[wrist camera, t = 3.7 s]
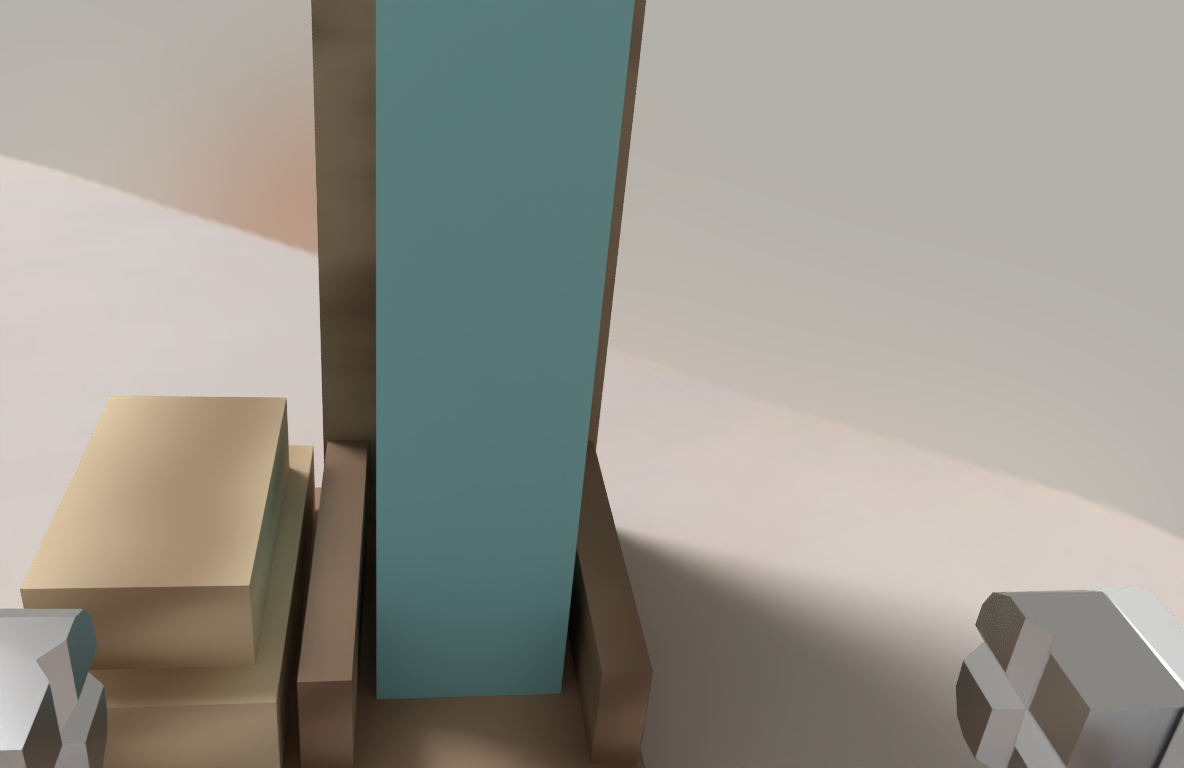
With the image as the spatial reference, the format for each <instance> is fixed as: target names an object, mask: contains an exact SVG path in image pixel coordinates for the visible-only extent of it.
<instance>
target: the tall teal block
mask: <svg viewBox="0 0 1184 768" xmlns="http://www.w3.org/2000/svg"><path fill="white" fill-rule="evenodd" d="M634 3H635V0H376V675H377V699H405V698H436V697H467V696H498V695H529V694H560V693H561V686H562V676H563V667H564V658H565V648H566V639H567V630H568V620H569V611H570V602H571V592H572V583H573V573H574V564H575V555H576V545H577V536H578V527H579V517H580V508H581V499H582V489H583V480H584V471H585V461H586V452H587V442H588V433H589V424H590V414H591V405H592V396H593V386H594V377H595V368H596V358H597V349H598V340H599V330H600V321H601V311H602V302H603V293H604V283H605V274H606V265H607V255H608V246H609V237H610V227H611V218H612V209H613V199H614V190H615V180H616V171H617V162H618V152H619V143H620V134H621V124H622V115H623V106H624V96H625V87H626V78H627V68H628V59H629V49H630V40H631V31H632V21H633V12H634Z"/></svg>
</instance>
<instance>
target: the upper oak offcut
mask: <svg viewBox="0 0 1184 768" xmlns="http://www.w3.org/2000/svg"><path fill="white" fill-rule="evenodd" d="M289 467H290V466H289V444H288V422H287V401H286V398H261V397H172V396H110V399H109V401H108V403H107V405H106V407H105V409H104V411H103V413H102V416H101V418H100V420H99V422H98V424H97V426H96V428H95V431H94V433H93V435H92V437H91V439H90V441H89V443H88V445H87V448H86V450H85V452H84V454H83V456H82V458H81V460H80V462H79V465H78V467H77V469H76V471H75V473H74V475H73V477H72V479H71V482H70V484H69V486H68V488H67V490H66V492H65V494H64V497H63V499H62V501H61V503H60V505H59V507H58V509H57V511H56V514H55V516H54V518H53V520H52V522H51V524H50V526H49V528H48V531H47V533H46V535H45V537H44V539H43V541H42V543H41V546H40V548H39V550H38V552H37V554H36V556H35V558H34V560H33V563H32V565H31V567H30V569H29V571H28V573H27V575H26V577H25V580H24V582H23V584H22V586H21V588H20V591H21V596H22V601H23V606H24V609H84V610H85V611H87V612H88V613H89V614H90V615H91V616H92V621H93V626H94V631H95V636H96V641H97V648H96V651H95V654H94V657H93V660H92V663H91V665H90V668H89V670H114V669H151V668H188V667H225V666H255V663H256V657H257V651H258V645H259V640H260V634H261V628H262V622H263V617H264V611H265V605H266V600H267V594H268V588H269V582H270V577H271V571H272V565H273V559H274V554H275V548H276V542H277V536H278V531H279V525H280V519H281V513H282V508H283V502H284V496H285V490H286V485H287V479H288V473H289Z"/></svg>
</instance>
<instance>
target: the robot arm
mask: <svg viewBox="0 0 1184 768" xmlns="http://www.w3.org/2000/svg"><path fill="white" fill-rule="evenodd" d="M975 625H976V627H977V629H978V631H979V633H980V635H981V637H982V638H983V640H984V643H983V644H981V645H980V646H979V647H978V648H977V649H976V650H975V651H974V652H972V653H971V654H970V655H969V656H968V657H967V658H966V659H964V660H963V664H962V667H961V671H960V675H959V678H958V682H957V685H956V699H957V716H958V720H959V723H960V726H961V730H962V733H963V736H964V738H965V740H966V742H967V744H968V746H969V748H970V750H971V752H972V754H973V755H974V757H975V759H977V760H978V761H979V762H981V763H982V764H984V765H985V766H986V767H988V768H1184V627H1183V626H1182V625H1181V624H1180V623H1179V622H1178V620H1177V619H1176V618H1175V617H1174V616H1173V615H1172V614H1171V613H1170V611H1169V610H1168V609H1167V608H1166V607H1165V606H1164V605H1163V603H1162V602H1161V601H1160V600H1159V599H1158V598H1157V597H1156V596H1155V595H1154V594H1152V593H1150V592H1149V591H1147V590H1145V589H1143V588H1141V587H1123V588H1098V589H1090V590H1088V591H1087V590H1068V591H1028V592H993V593H992V594H991V595H990V596H989V598H988V599H987V600H986V601H985V602H984V603H983V604H982V607H981V610H980V613H979V616H978V619H977V621H976V624H975ZM96 648H97V641H96V636H95V631H94V626H93V621H92V616H91V615H90V614H89V613H88V612H87V611H85V610H84V609H0V768H103V763H104V755H105V748H106V741H107V704H106V697H105V690H104V685H103V684H102V683H101V682H99V681H98V680H97V679H96V678H95V677H94V676H92V675H91V674H90V673H89V672H88V671H89V668H90V665H91V663H92V660H93V657H94V654H95V651H96Z"/></svg>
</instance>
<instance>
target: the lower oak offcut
mask: <svg viewBox="0 0 1184 768" xmlns="http://www.w3.org/2000/svg"><path fill="white" fill-rule="evenodd" d="M289 466H290V467H289V473H288V479H287V485H286V490H285V496H284V502H283V508H282V513H281V519H280V525H279V531H278V536H277V542H276V548H275V554H274V559H273V565H272V571H271V577H270V582H269V588H268V594H267V600H266V605H265V611H264V617H263V622H262V628H261V634H260V640H259V645H258V651H257V657H256V663H255V666H225V667H188V668H151V669H114V670H89V671H88V672H89V673H90V674H91V675H92V676H94V677H95V678H96V679H97V680H98V681H99V682H101V683H102V684H103V685H104V690H105V697H106V704H107V741H106V748H105V755H104V763H103V768H282V761H283V753H284V745H285V738H286V730H287V723H288V715H289V707H290V700H291V692H292V684H293V677H294V669H295V661H296V654H297V646H298V638H299V631H300V623H301V615H302V608H303V600H304V592H305V585H306V577H307V569H308V562H309V554H310V546H311V539H312V531H313V523H314V516H315V483H314V453H313V446H289Z"/></svg>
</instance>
